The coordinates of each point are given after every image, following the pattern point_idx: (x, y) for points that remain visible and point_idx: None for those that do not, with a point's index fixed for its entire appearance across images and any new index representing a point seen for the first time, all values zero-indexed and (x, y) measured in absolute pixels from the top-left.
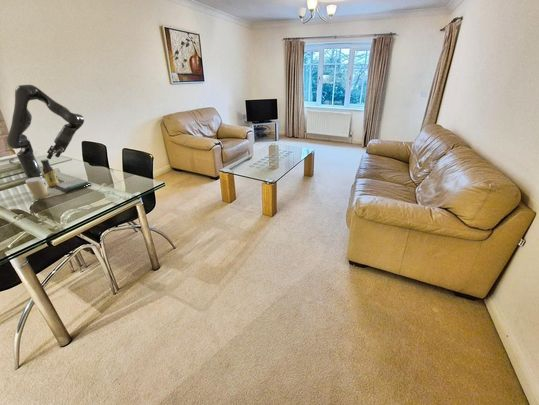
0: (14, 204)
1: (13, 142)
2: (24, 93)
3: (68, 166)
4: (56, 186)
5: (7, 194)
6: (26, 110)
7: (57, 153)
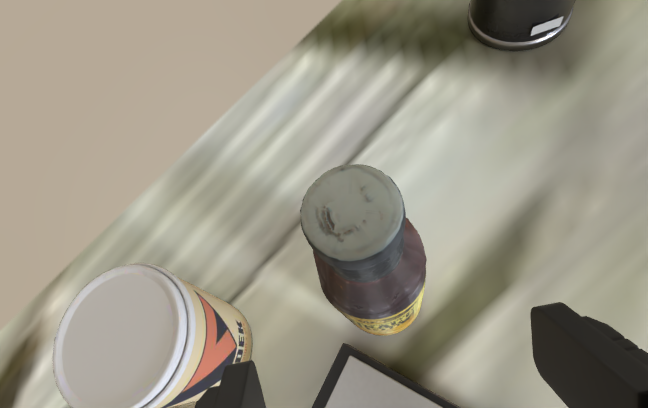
0: None
1: None
2: None
3: None
4: (327, 375)
5: (237, 115)
6: None
7: (596, 383)
